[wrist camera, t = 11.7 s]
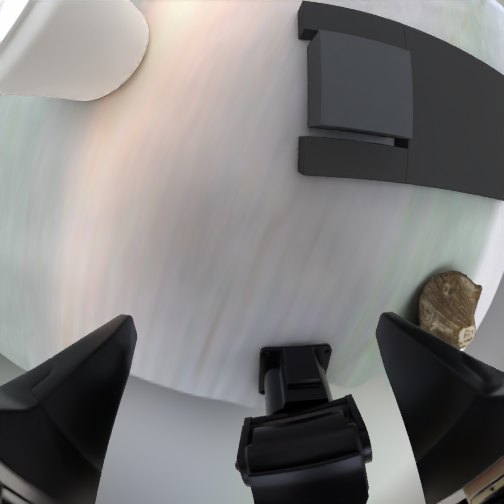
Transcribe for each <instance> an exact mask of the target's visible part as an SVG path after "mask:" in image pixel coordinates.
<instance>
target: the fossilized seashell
mask: <svg viewBox="0 0 504 504" xmlns="http://www.w3.org/2000/svg"><path fill="white" fill-rule="evenodd" d="M481 291H482V286H481V285H476V284H475V283H473V282H472V281H471V280H470V279H469V278H468V277H467V275H464V274H462V273H461V272H458V271H448V272H444V273H440V274H438V275H436V276H434V277H433V278H432V279H431V280H430V281H428V282H427V283H426V285H425V286H424V288H423V290H422V292H421V295H420V298H419V302H418V311H419V312H418V321H419V325H418V327H420V328H422V329H424V330H426V331H427V332H429V333H431V334H433V335H434V336H436V337H438V338H440V339H442V340H443V341H445V342H447V343H449V344H451V345H452V346H454V347H456V348H458V349H461V348H464V347H466V346H468V345H469V344H470V343H471V342H472V341H473V340H474V337H475V332H476V326H475V321H474V314H475V310H476V307H477V303H478V300H479V298H480V294H481Z"/></svg>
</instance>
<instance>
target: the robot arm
mask: <svg viewBox="0 0 504 504" xmlns="http://www.w3.org/2000/svg"><path fill="white" fill-rule="evenodd" d="M376 338H377V342H378V345H379V349H380V353H381V356H382V360H383V364H384V368H385V371H386V373H387V376H388V379H389V381H390V384H391V387H392V390H393V392H394V395H395V398H396V401H397V404H398V407H399V410H400V412H401V415H402V418H403V421H404V425H405V428H406V431H407V434H408V437H409V440H410V444H411V447H412V451H413V454H414V458H415V461H416V465H417V469H418V472H419V476H420V480H421V484H422V488H423V493H424V497H425V502H426V504H439V503H441V502H442V501H445V500H446V499H448V498H450V497H452V496H454V495H456V494H457V493H459V492H461V491H464V494H465V496H466V498H465V499H463V500H462V501H460V502H458V503H457V504H504V372H502V371H500V370H498V369H496V368H494V367H492V366H489V365H487V364H485V363H483V362H481V361H479V360H477V359H475V358H474V357H472V356H470V355H468V354H466V353H465V352H463V351H460V350H459V349H458V348H456V347H454V346H452V345H451V344H449V343H447V342H445V341H443V340H442V339H440V338H438V337H436V336H434V335H433V334H431V333H429V332H427V331H426V330H424V329H422V328H420V327H418V326H417V325H415V324H413V323H411V322H409V321H408V320H406V319H404V318H402V317H400V316H399V315H397V314H395V313H393V312H384V313H382V314H381V316H380V319H379V322H378V325H377V329H376ZM136 341H137V332H136V329H135V325H134V321H133V318H132V316H130V315H119V316H117V317H116V318H114V319H113V320H111V321H109V322H108V323H106V324H104V325H103V326H101V327H100V328H98V329H96V330H95V331H93V332H92V333H90V334H88V335H87V336H85V337H84V338H82V339H80V340H79V341H77V342H76V343H74V344H72V345H71V346H69V347H68V348H66V349H64V350H63V351H61V352H60V353H58V354H56V355H55V356H53V358H50V359H48V360H47V361H45V362H44V363H42V364H40V365H39V366H37V367H36V368H34V369H32V370H30V371H28V372H26V373H25V374H23V375H21V376H19V377H17V378H15V379H13V380H12V381H9V382H8V383H6V384H4V385H2V386H0V504H95V501H96V496H97V490H98V486H99V482H100V477H101V473H102V472H101V471H102V468H103V463H104V459H105V455H106V451H107V447H108V444H109V440H110V436H111V432H112V428H113V425H114V422H115V418H116V415H117V411H118V408H119V404H120V401H121V398H122V395H123V392H124V389H125V386H126V382H127V379H128V376H129V373H130V368H131V364H132V359H133V354H134V350H135V345H136ZM326 349H327V350H326ZM265 352H267V353H265ZM331 352H332V349H331V346H330V345H327V344H326V345H311V346H293V347H265V348H262V349H261V350H260V366H259V393H260V394H262V395H265V401H266V416H260V417H254V418H252V417H248V418H245V420H244V426H242V432H241V438H240V443H239V449H238V454H237V461H236V463H235V467H236V469H237V470H238V471H239V472H240V473H241V476H242V479H243V481H244V483H245V484H246V486H248V487H251V490H252V494H253V498H254V504H366V503H367V500H368V497H369V495H368V489H369V486H368V480H367V474H366V468H365V464H366V463H369V462H371V461H372V449H371V443H370V439H369V435H368V431H367V429H366V426H365V423H364V421H363V419H362V417H361V414H360V412H359V410H358V408H357V406H356V404H355V401H354V399H353V397H352V395H351V394H350V395H346V396H345V397H343V398H340V399H336V400H333V399H332V395H331V392H330V388H329V385H328V381H327V378H326V371H327V368H328V364H329V360H330V356H331Z"/></svg>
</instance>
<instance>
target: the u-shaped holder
mask: <svg viewBox="0 0 504 504" xmlns="http://www.w3.org/2000/svg"><path fill="white" fill-rule="evenodd" d="M319 30H327V31H333V32H338V33H343V34H348V35H353V36H358V37H362V38H366V39H370V40H374V41H378V42H381V43H385V44H388V45H392V46H395V47H398V48H401V49H404V50H407V51H410V55H411V68H412V86H413V135H412V139H405V138H395V147H394V146H388V145H382V144H376V143H369V142H361V141H353V140H344V139H335V138H324V137H311V136H300V137H299V153H298V172H300V173H301V174H303V175H308V176H327V177H342V178H355V179H367V180H377V181H387V182H396V183H405V184H413V185H420V186H427V187H434V188H440V189H447V190H452V191H458V192H464V193H469V194H474V195H480V196H484V197H489V198H494V199H498V200H503V201H504V75H503V74H501V73H500V72H498V71H497V70H495V69H494V68H492V67H490V66H489V65H487V64H486V63H484V62H482V61H481V60H479V59H477V58H475V57H474V56H472V55H470V54H468V53H467V52H465V51H463V50H461V49H459V48H457V47H455V46H453V45H451V44H449V43H447V42H445V41H443V40H441V39H439V38H436V37H434V36H432V35H429V34H427V33H425V32H422V31H420V30H417V29H415V28H412V27H409V26H407V25H403V24H402V23H399V22H396V21H393V20H390V19H387V18H383V17H380V16H377V15H373V14H369V13H366V12H362V11H358V10H354V9H349V8H345V7H340V6H335V5H329V4H323V3H317V2H310V1H302V4H301V6H300V8H299V10H298V34H299V39H306V40H313V38H314V37H315V35H316V34H317V33H318V31H319Z"/></svg>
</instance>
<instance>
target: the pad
mask: <svg viewBox="0 0 504 504" xmlns="http://www.w3.org/2000/svg"><path fill="white" fill-rule="evenodd" d="M307 60H308V122H307V126H308V128H319V129H329V130H339V131H347V132H355V133H362V134H369V135H375V136H382V137H389V138H405V139H412V135H413V86H412V68H411V55H410V51H407V50H404V49H401V48H398V47H395V46H392V45H388V44H385V43H381V42H378V41H374V40H370V39H366V38H362V37H358V36H353V35H348V34H343V33H338V32H333V31H327V30H319V31H318V33H317V34H316V35H315V37H314V38H313V40H312V41H311V42H310V44H309V45H308V47H307Z"/></svg>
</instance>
